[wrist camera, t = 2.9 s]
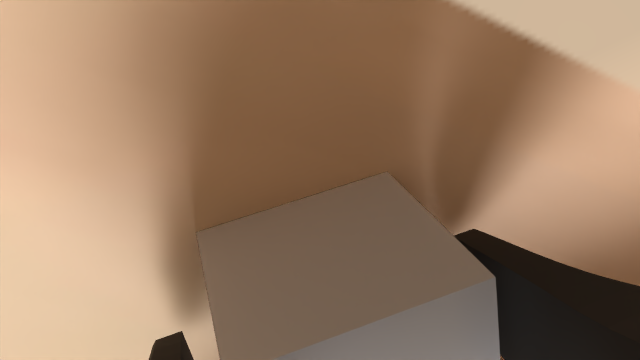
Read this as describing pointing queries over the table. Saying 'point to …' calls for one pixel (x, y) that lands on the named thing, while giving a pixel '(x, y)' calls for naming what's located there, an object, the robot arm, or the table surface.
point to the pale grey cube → (348, 281)
